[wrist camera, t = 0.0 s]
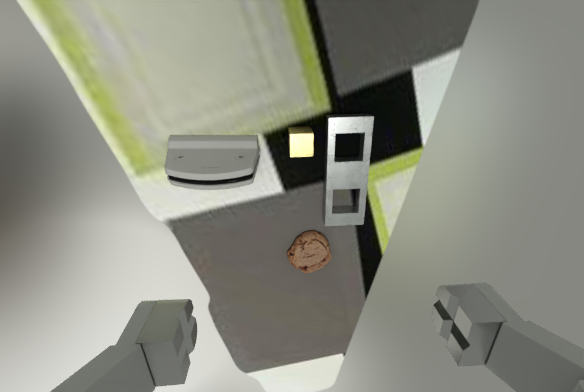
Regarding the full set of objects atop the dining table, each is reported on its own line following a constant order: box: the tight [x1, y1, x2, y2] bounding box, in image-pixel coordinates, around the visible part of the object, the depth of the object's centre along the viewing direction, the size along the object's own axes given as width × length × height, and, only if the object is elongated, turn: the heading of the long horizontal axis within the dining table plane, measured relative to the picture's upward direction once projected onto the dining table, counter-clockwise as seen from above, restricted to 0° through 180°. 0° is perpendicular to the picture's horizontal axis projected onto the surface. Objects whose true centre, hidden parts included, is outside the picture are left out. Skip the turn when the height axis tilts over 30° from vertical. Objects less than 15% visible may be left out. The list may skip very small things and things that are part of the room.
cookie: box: [287, 230, 331, 273], centre depth 66 cm, size 10×11×3 cm
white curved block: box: [165, 135, 260, 190], centre depth 53 cm, size 17×5×10 cm, turn 89°
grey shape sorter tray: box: [323, 113, 374, 226], centre depth 58 cm, size 22×8×3 cm, turn 1°
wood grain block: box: [288, 126, 314, 157], centre depth 53 cm, size 4×4×6 cm
